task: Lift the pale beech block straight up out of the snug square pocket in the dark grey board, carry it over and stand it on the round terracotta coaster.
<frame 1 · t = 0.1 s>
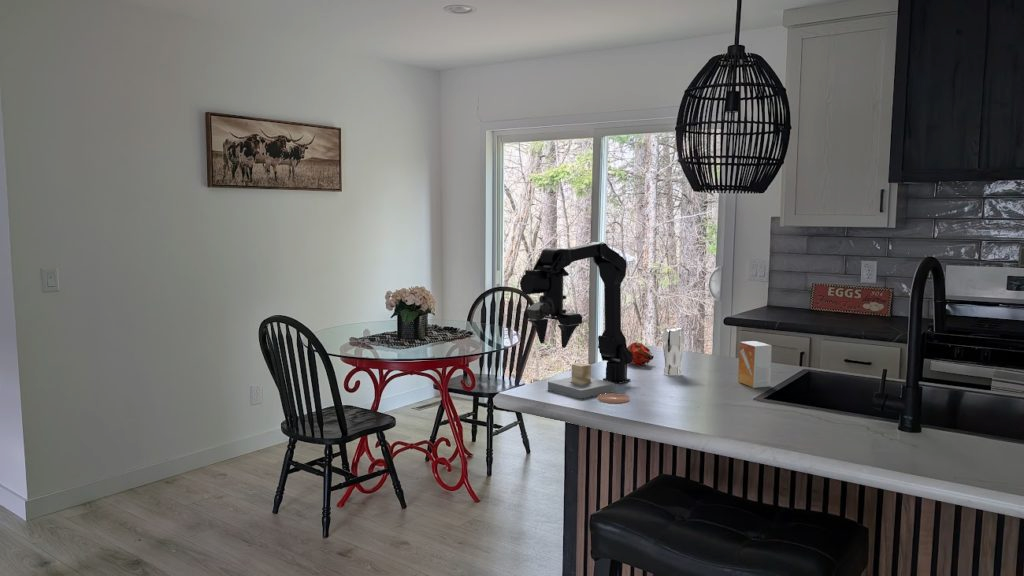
hand: (552, 345, 212), 15 cm above the kitchen island, tool pointing down, fingers open, 9 cm apart
beer glass: (672, 374, 241), on the kitchen island
coaster: (613, 399, 208), on the kitchen island
small box: (753, 385, 227), on the kitchen island
dragon fruit: (638, 365, 256), on the kitchen island
beech block: (581, 377, 218), in the pocket board
pocket board: (580, 390, 218), on the kitchen island
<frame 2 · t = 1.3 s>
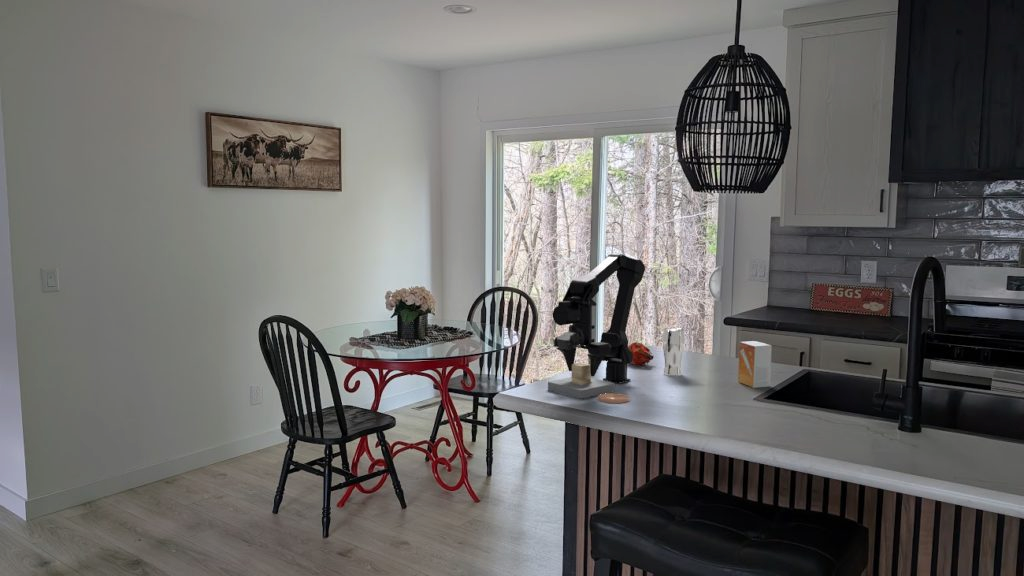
hand: (581, 373, 217), 5 cm above the kitchen island, tool pointing down, fingers open, 9 cm apart
nothing on the kitchen island moved.
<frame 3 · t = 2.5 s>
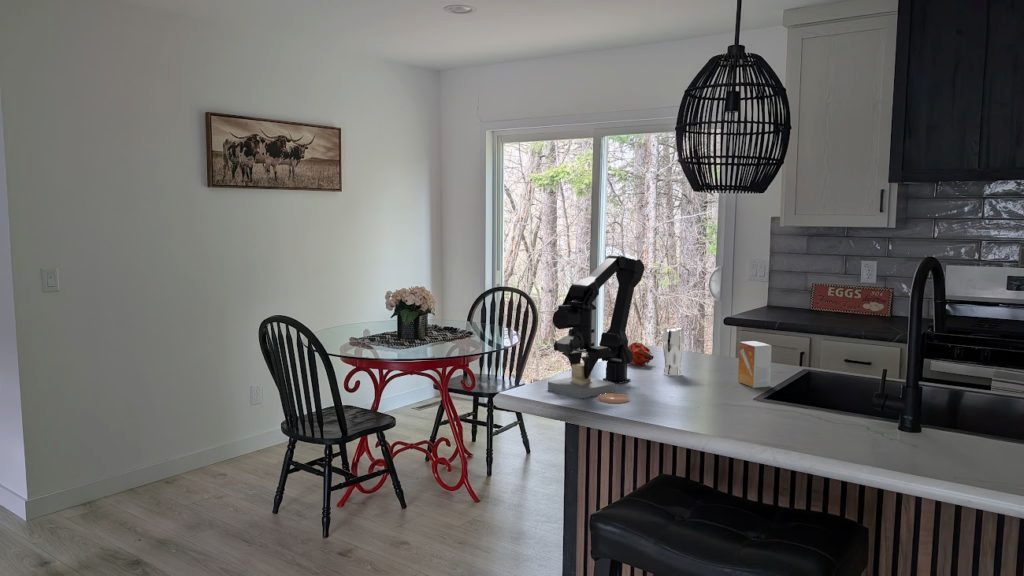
hand: (581, 377, 218), 4 cm above the kitchen island, tool pointing down, fingers closed on beech block, 4 cm apart
beech block: (581, 377, 218), in the pocket board, touching gripper
everything else where it was.
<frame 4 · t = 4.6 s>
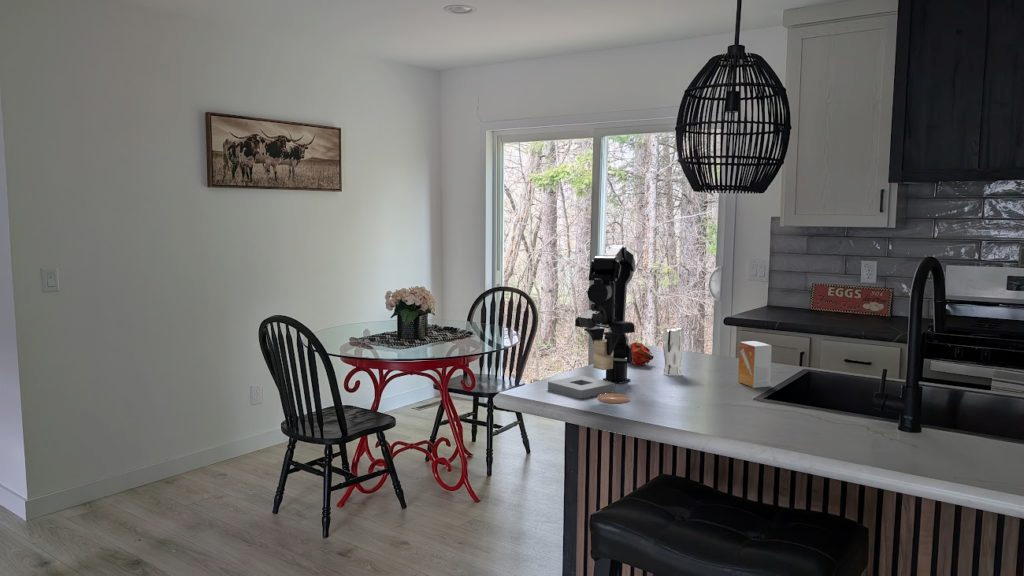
hand: (603, 354, 209), 12 cm above the kitchen island, tool pointing down, fingers closed on beech block, 4 cm apart
beech block: (603, 354, 209), point 12 cm above the kitchen island, touching gripper
everything else where it was.
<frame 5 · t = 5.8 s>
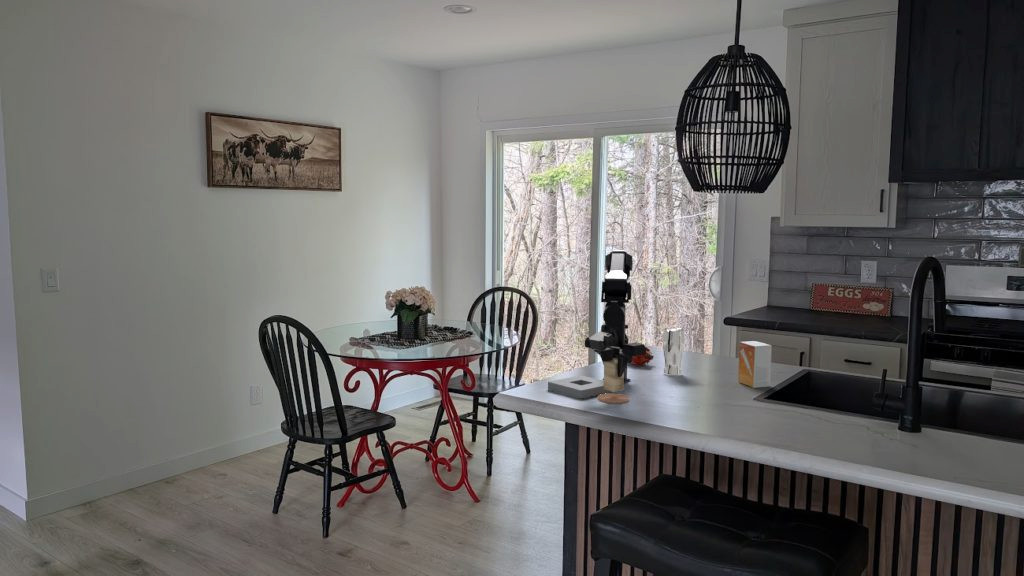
hand: (614, 375, 207), 7 cm above the kitchen island, tool pointing down, fingers closed on beech block, 4 cm apart
beech block: (613, 375, 207), point 7 cm above the kitchen island, touching gripper
everything else where it was.
when the fingers open (6 cm above the kitchen island, at t = 6.7 s): beech block drops 1 cm, resting on coaster.
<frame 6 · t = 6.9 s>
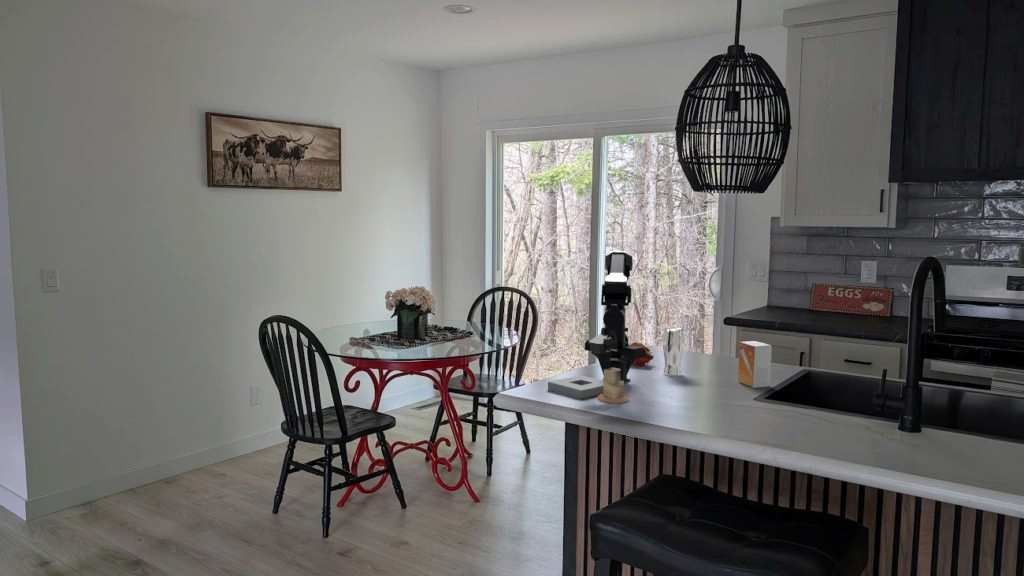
hand: (613, 378, 207), 6 cm above the kitchen island, tool pointing down, fingers open, 6 cm apart
beech block: (613, 383, 208), on the coaster, point 5 cm above the kitchen island
everything else where it was.
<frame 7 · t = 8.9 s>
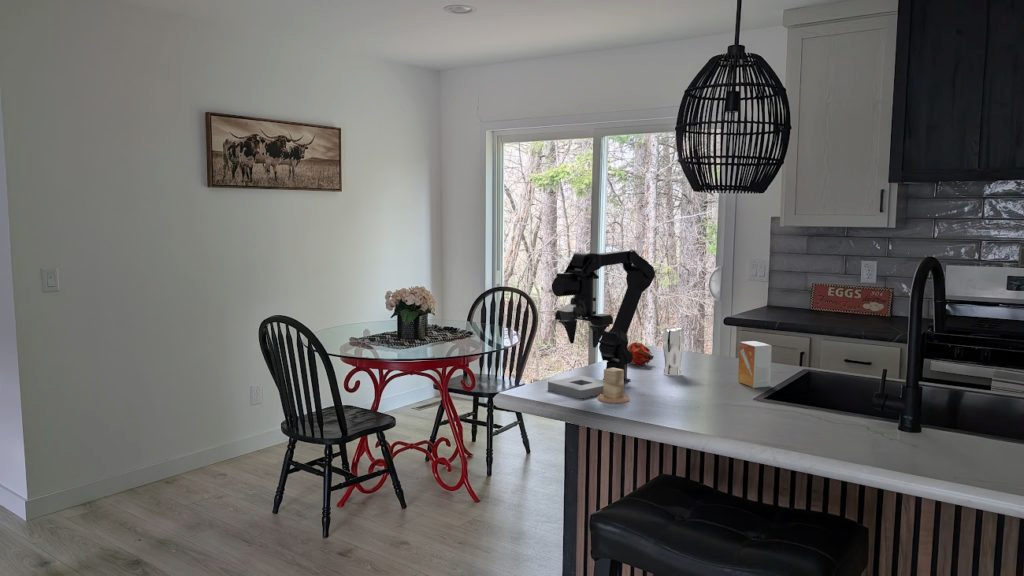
hand: (583, 345, 221), 13 cm above the kitchen island, tool pointing down, fingers open, 9 cm apart
nothing on the kitchen island moved.
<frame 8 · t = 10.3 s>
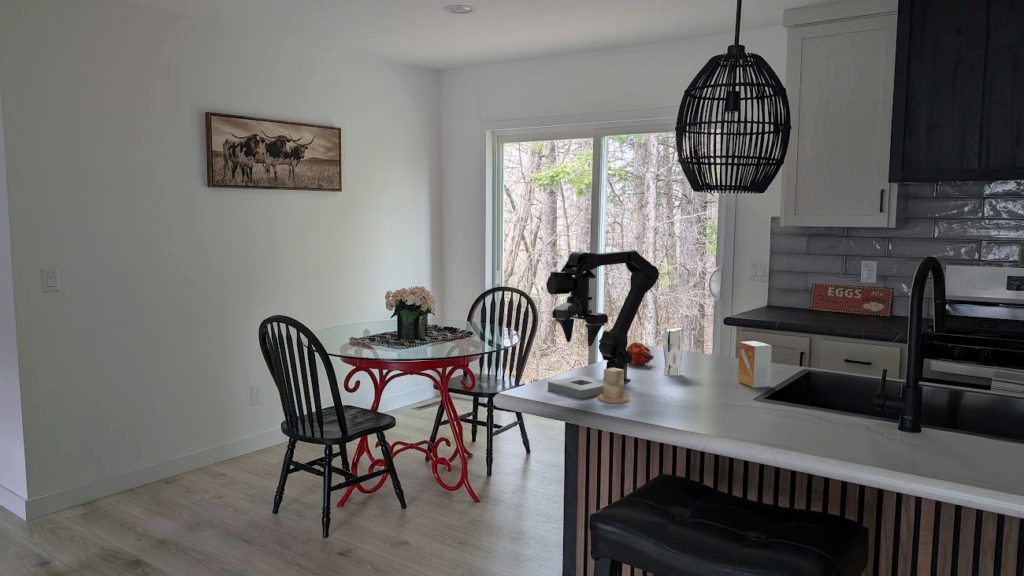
hand: (579, 343, 223), 13 cm above the kitchen island, tool pointing down, fingers open, 9 cm apart
nothing on the kitchen island moved.
at the end: beech block inside the target area on the coaster (0.1 cm from its centre), point 4.6 cm above the coaster's base; beech block tilted 0°; beech block touching coaster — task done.
